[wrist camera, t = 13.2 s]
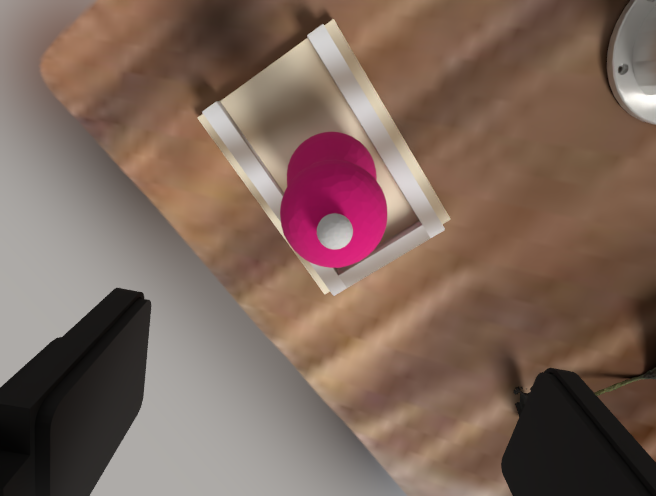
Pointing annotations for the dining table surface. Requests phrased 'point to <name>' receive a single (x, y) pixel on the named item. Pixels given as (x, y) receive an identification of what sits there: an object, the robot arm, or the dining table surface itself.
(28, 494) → the robot arm
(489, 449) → the dining table surface
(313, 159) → the pepper mill
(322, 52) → the rail board
